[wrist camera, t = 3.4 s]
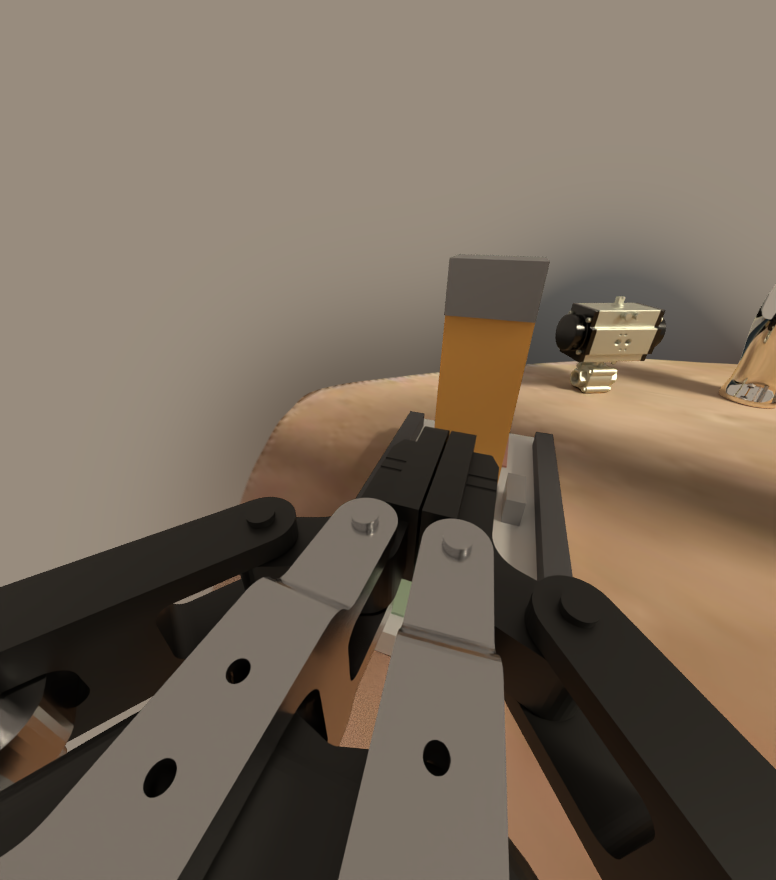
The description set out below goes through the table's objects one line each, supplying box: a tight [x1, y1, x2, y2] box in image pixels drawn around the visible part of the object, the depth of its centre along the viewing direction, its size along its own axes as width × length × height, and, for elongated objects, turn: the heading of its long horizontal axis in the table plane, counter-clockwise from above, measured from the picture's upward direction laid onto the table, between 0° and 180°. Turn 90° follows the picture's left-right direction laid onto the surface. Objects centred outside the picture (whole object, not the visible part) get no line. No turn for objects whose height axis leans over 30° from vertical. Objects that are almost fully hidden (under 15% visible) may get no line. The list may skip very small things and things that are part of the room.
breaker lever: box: [434, 254, 550, 500], centre depth 21 cm, size 3×5×15 cm, turn 71°
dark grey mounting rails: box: [356, 411, 573, 581], centre depth 25 cm, size 19×13×1 cm
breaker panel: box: [374, 419, 537, 656], centre depth 25 cm, size 22×14×4 cm, turn 161°
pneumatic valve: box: [555, 296, 666, 393], centre depth 44 cm, size 6×12×12 cm, turn 95°
